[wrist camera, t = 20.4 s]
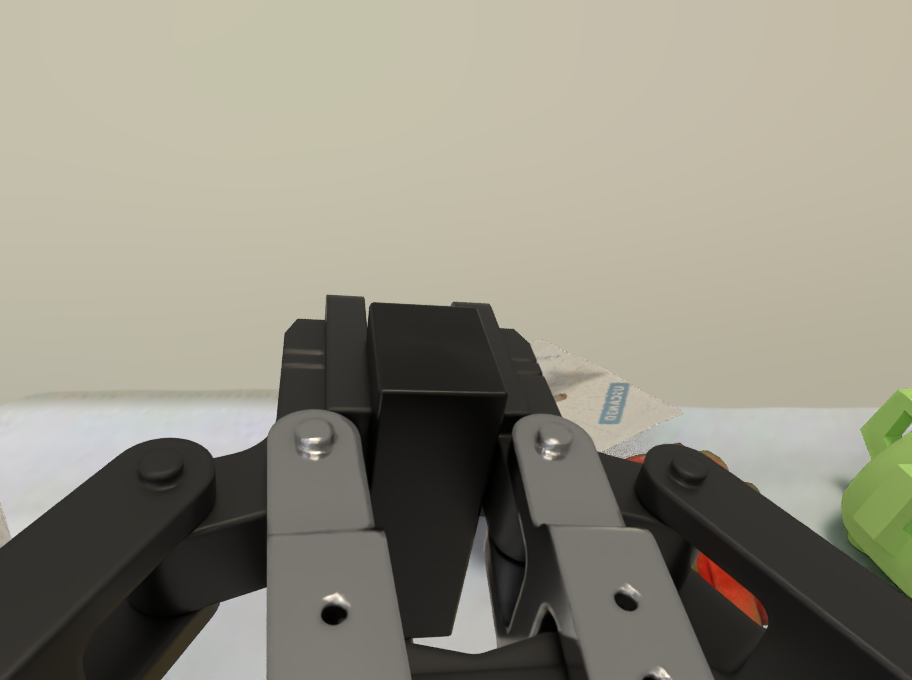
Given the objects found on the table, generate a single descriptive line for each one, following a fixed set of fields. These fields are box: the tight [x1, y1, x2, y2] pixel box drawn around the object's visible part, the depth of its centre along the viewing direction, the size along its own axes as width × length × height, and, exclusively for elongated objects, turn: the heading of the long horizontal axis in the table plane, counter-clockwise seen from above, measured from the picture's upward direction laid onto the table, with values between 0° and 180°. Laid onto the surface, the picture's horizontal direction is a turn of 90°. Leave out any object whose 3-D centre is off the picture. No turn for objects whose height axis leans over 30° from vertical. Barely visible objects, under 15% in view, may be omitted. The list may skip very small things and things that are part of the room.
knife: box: [366, 302, 508, 643], centre depth 14 cm, size 2×3×14 cm
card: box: [530, 340, 684, 452], centre depth 40 cm, size 11×15×5 cm
